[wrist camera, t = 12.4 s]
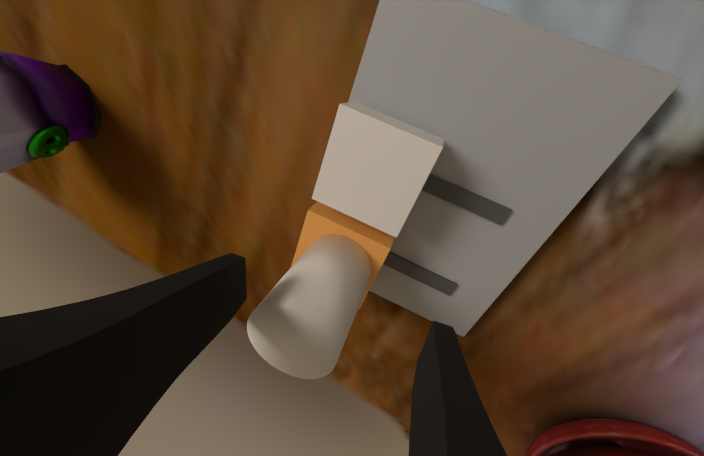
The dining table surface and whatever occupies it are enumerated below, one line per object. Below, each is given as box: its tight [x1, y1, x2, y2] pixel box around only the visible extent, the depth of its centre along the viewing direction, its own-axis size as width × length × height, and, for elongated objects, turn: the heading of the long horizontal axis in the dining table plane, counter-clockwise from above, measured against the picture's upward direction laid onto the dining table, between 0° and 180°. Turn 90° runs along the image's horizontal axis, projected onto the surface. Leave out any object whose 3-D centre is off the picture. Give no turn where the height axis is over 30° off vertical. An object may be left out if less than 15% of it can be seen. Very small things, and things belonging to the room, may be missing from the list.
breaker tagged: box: [291, 202, 395, 310], centre depth 18 cm, size 5×5×2 cm
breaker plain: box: [312, 102, 444, 238], centre depth 15 cm, size 5×5×2 cm
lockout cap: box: [247, 234, 372, 379], centre depth 14 cm, size 4×4×6 cm
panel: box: [317, 0, 683, 337], centre depth 17 cm, size 13×17×1 cm
